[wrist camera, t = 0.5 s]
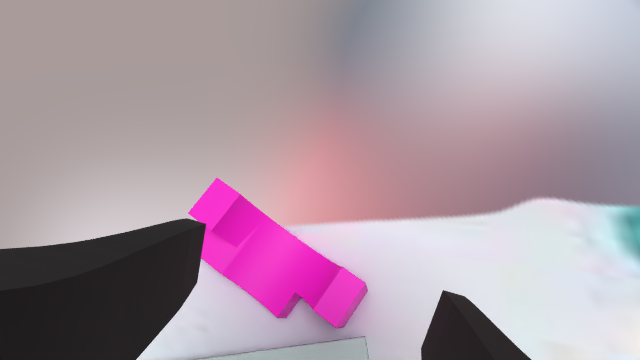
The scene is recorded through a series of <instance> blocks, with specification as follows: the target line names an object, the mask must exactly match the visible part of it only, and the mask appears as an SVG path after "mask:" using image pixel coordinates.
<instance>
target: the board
mask: <svg viewBox="0 0 640 360" xmlns="http://www.w3.org/2000/svg"><path fill="white" fill-rule="evenodd" d="M195 360H369V357H368V351H367V345H366V338H365V336H364V337H357V338H349V339H342V340H335V341H327V342H320V343H313V344H305V345H298V346H290V347H283V348H276V349H268V350H261V351H254V352H246V353H239V354H232V355H224V356H217V357H210V358H202V359H195Z"/></svg>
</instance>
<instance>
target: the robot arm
mask: <svg viewBox="0 0 640 360" xmlns="http://www.w3.org/2000/svg"><path fill="white" fill-rule="evenodd" d="M205 229H206V224H205V223H202V222H198V221H194V220H191V219H180V220H175V221H170V222H166V223H162V224H158V225H154V226H150V227H145V228H141V229H138V230H133V231H129V232H125V233H120V234H115V235H110V236H106V237H101V238H96V239H91V240H85V241H79V242H73V243H65V244H58V245H49V246H40V247H26V248H12V249H0V360H136V359H137V358H138V357H139V356H140V355H141V353H142V352H143V351H144V350H145V349H146V348H147V346H148V345H149V344H150V343H151V342H152V341H153V340H154V338H155V337H156V336H157V335H158V334H159V333H160V332H161V330H162V329H163V328H164V327H165V326H166V325H167V324H168V322H169V321H170V320H171V319H172V318H173V317H174V315H175V314H176V313H177V312H178V311H179V309H180V308H181V307H182V305H183V304H184V302H185V301H186V299H187V298H188V296H189V294H190V293H191V291H192V290H193V288H194V286H195V285H196V283H197V279H198V273H199V267H200V261H201V254H202V248H203V242H204V235H205ZM421 356H422V360H531V359H530V358H529V357H528V356H527V355H525V354H524V353H523V352H522V351H521V350H520V349H519V348H518V347H517V346H516V345H515V344H514V343H513V342H512V341H511V340H510V339H509V338H508V337H507V336H506V335H505V334H504V333H503V332H502V331H501V330H500V329H499V328H497V327H496V326H495V325H494V324H493V323H492V322H491V321H490V320H489V319H488V318H487V317H486V316H485V315H484V314H483V313H482V312H481V311H480V310H479V309H478V308H477V307H476V306H475V305H474V304H473V303H472V302H471V301H470V300H468V299H467V298H466V297H465V296H462V295H458V294H455V293H451V292H447V291H444V290H443V292H442V294H441V297H440V300H439V302H438V305H437V308H436V310H435V313H434V316H433V318H432V321H431V324H430V326H429V329H428V332H427V334H426V337H425V340H424V342H423V345H422V348H421Z"/></svg>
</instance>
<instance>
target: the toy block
mask: <svg viewBox="0 0 640 360" xmlns="http://www.w3.org/2000/svg"><path fill="white" fill-rule="evenodd" d="M188 214H190V215H191V216H192V217H194V218H195V219H196V220H198V221H199V222H202V223H205V224H206V229H205V235H204V242H203V248H202V254H201V258H202V259H203V260H204V261H206V262H207V263H208V264H209V265H210V266H212V267H213V268H214V269H215V270H217V271H218V272H219V273H221V274H222V275H224V276H225V277H227V278H228V279H230V280H231V281H233V282H234V283H235V284H237V285H238V286H240V287H241V288H242V289H244V290H245V291H246V292H248V293H249V294H250V295H251V296H253V297H254V298H255V299H257V300H258V301H259V302H260V303H261V304H263V305H264V306H265V307H266V308H267V309H268V310H269V311H271V312H272V313H273V314H274V315H275V316H276V317H277V318H287V316H288V315H289V313H290V312H291V311H292V309H293V308H294V306H295V305H296V303H297V302H298V301H299V299H300V298H301V297H302V298H303V299H304V300H305V301H306V302H307V303H308V304H309V305H310V306H311V307H312V308H313V311H315V312H316V313H317V314H319V315H320V316H321V317H322V318H324V319H325V320H326V321H328V322H329V323H330V324H331V325H333V326H334V327H335V328H338V327H344V326H345V325H346V323H347V322H348V320H349V319H350V317H351V316H352V314H353V313H354V311H355V310H356V308H357V306H358V305H359V303H360V302H361V300H362V299H363V297H364V296H365V294H366V293H367V291H368V290H367V286H366V283H365V282H363V281H362V280H361V279H359V278H358V277H356V276H355V275H354V274H352V273H351V272H349V271H348V270H346V269H345V268H344V267H340V266H338V265H336V264H335V263H333V262H331V261H330V260H328V259H327V258H325V257H323V256H322V255H320V254H319V253H317V252H316V251H314V250H313V249H312V248H310V247H309V246H307V245H306V244H304V243H303V242H302V241H300V240H299V239H297V238H296V237H295V236H293V235H292V234H290V233H289V232H288V231H286V230H285V229H284V228H282V227H281V226H280V225H278V224H277V223H276V222H274V221H273V220H272V219H270V218H269V217H268V216H267V215H265V214H264V213H263V212H261V211H260V210H259V209H258V208H256V207H255V206H254V205H253V204H251V203H250V202H249V201H247V199H245V198H244V197H243V196H242V195H241V194H239V193H238V192H237V191H235V190H234V189H232V188H231V187H230V186H228V185H227V184H225V183H224V182H223V181H221V180H220V179H218V178H216V179H215V181H214V182H213V183H212V184H211V185H210V187H209V188H208V189H207V191H206V192H205V193H204V194H203V195H202V197H201V198H200V199H199V200H198V202H197V203H196V204H195V205H194V207H193V208H192V209H191V210H190V212H189V213H188Z"/></svg>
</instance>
